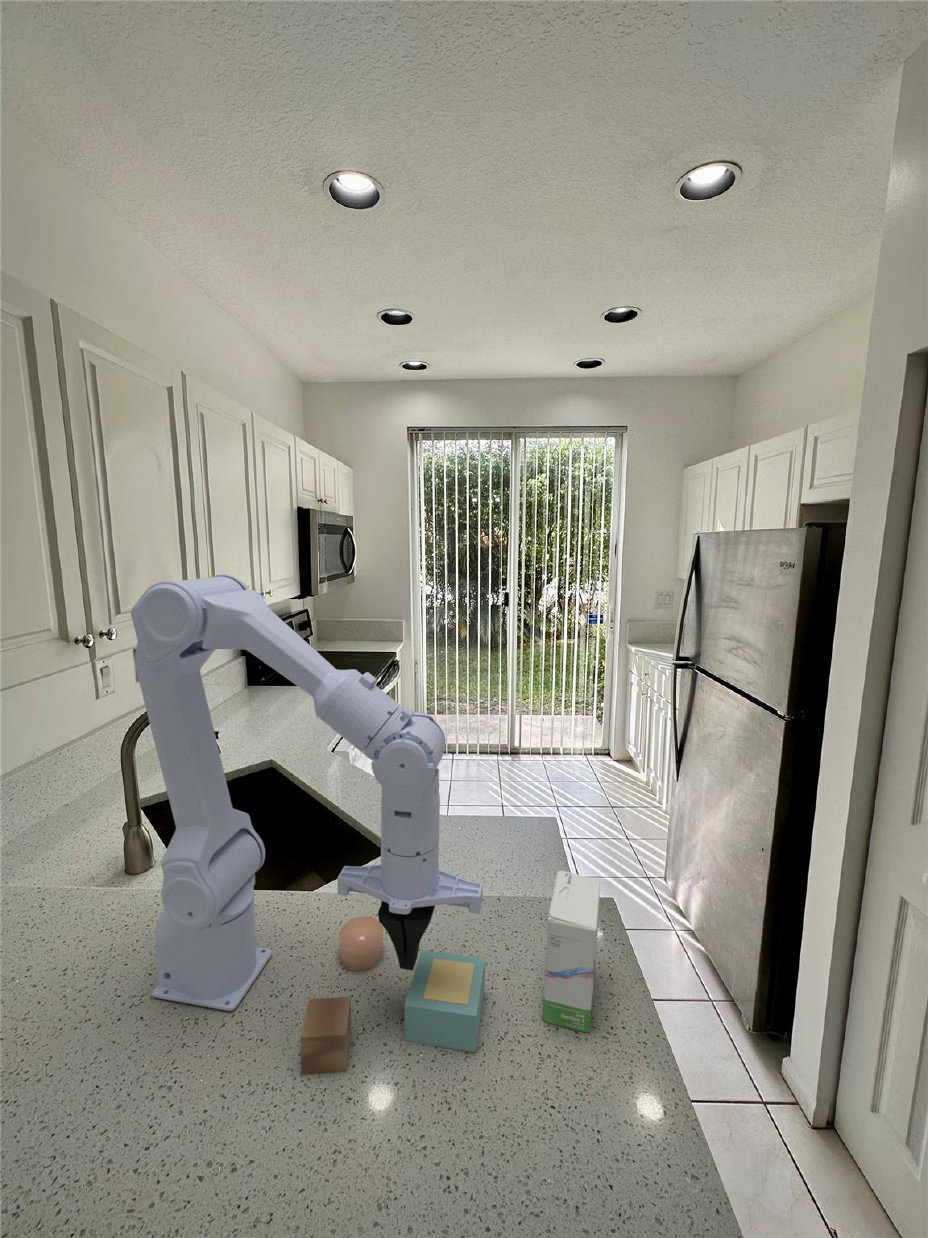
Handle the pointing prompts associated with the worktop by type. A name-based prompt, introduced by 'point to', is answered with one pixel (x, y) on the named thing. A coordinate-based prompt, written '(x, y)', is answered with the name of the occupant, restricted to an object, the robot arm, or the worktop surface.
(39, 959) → the worktop surface
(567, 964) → the ink box
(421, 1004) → the teal block
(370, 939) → the peach rounded dome
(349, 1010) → the walnut cube
